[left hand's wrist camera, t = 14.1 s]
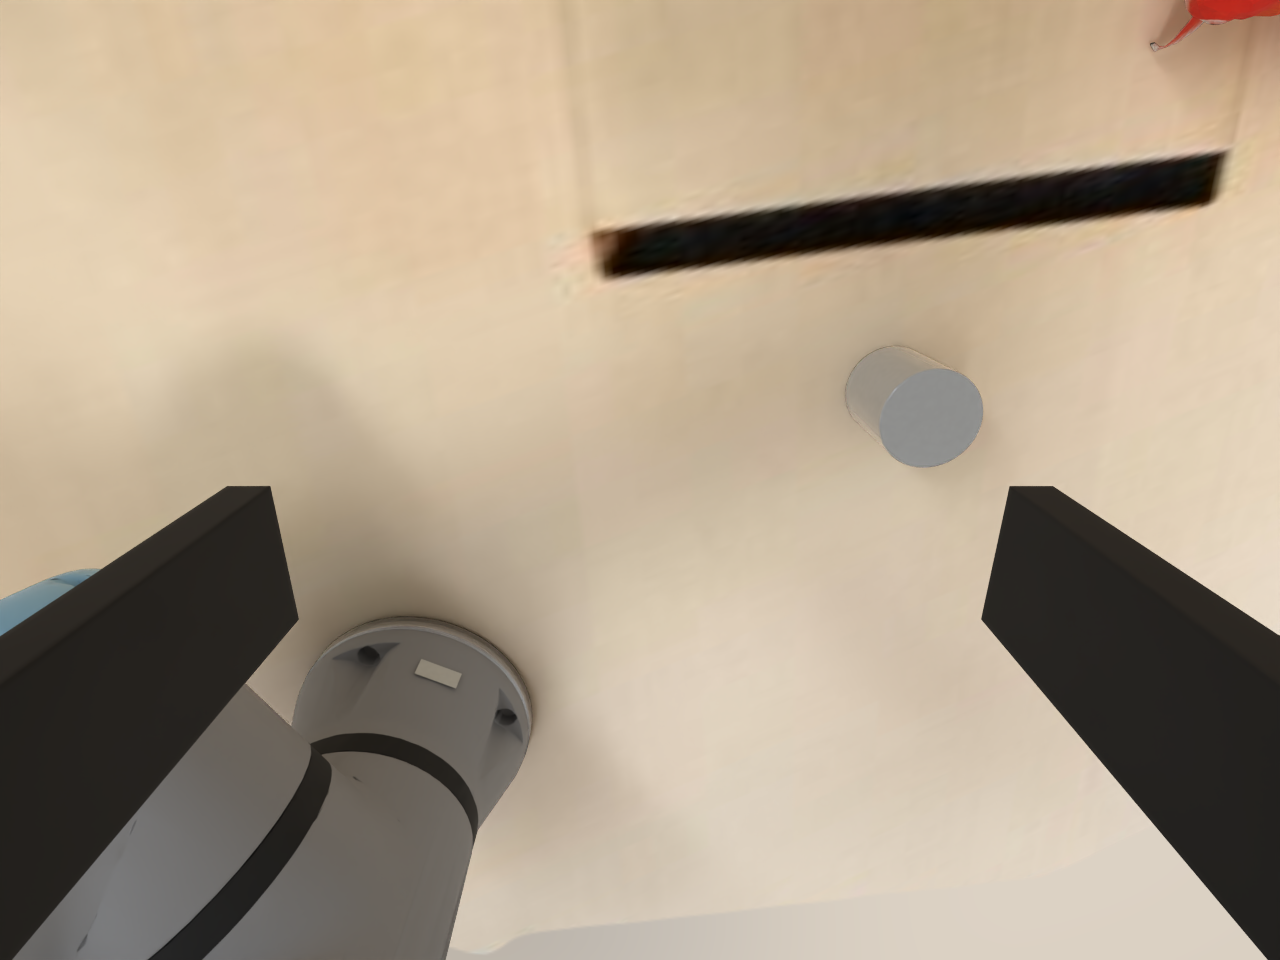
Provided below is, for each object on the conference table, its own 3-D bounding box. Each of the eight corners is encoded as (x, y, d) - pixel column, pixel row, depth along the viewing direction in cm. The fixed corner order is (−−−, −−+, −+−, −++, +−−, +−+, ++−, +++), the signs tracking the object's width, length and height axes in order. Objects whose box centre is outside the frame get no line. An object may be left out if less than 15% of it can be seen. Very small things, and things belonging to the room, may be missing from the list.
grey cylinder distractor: (897, 447, 40) (939, 485, 34) (827, 405, 39) (858, 437, 33) (952, 374, 38) (1005, 401, 33) (880, 328, 37) (923, 349, 32)
